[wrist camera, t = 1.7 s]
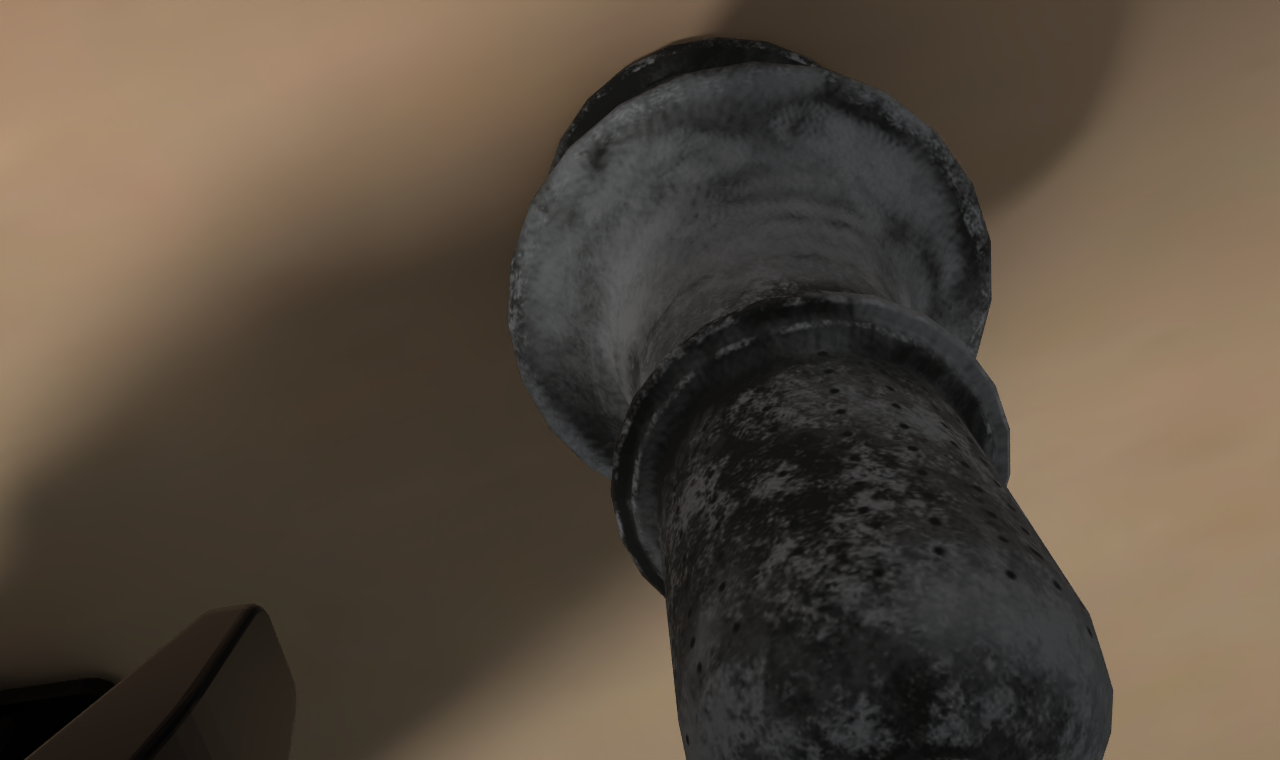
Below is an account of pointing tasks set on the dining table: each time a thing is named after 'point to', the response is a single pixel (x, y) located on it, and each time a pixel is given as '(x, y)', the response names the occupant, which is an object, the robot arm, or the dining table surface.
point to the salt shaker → (800, 415)
